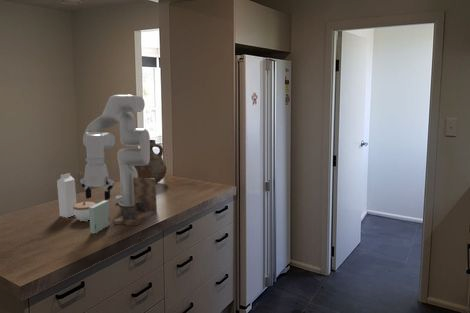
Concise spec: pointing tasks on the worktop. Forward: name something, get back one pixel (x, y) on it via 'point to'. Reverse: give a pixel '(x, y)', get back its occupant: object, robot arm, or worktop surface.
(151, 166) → the jug
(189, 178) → the worktop surface
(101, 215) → the door
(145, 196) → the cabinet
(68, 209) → the milk
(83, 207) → the lidded jar
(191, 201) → the worktop surface
